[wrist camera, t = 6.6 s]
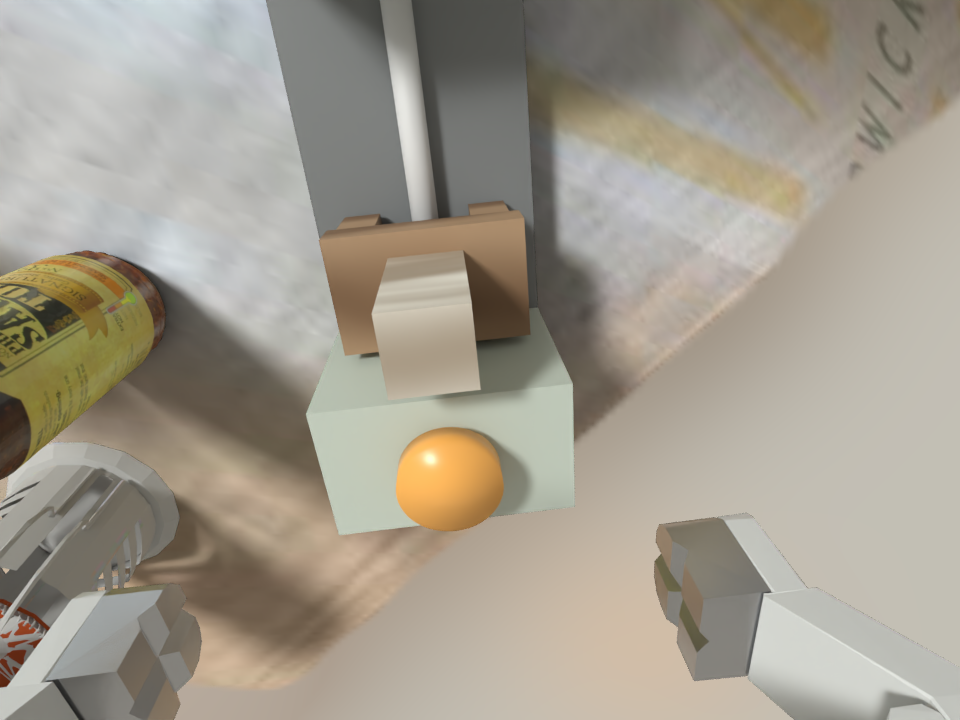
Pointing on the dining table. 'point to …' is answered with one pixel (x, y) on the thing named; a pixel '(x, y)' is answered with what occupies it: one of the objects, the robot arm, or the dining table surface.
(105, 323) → the sauce bottle
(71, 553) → the french press
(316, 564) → the dining table surface
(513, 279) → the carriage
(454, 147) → the rail bench
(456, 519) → the button
